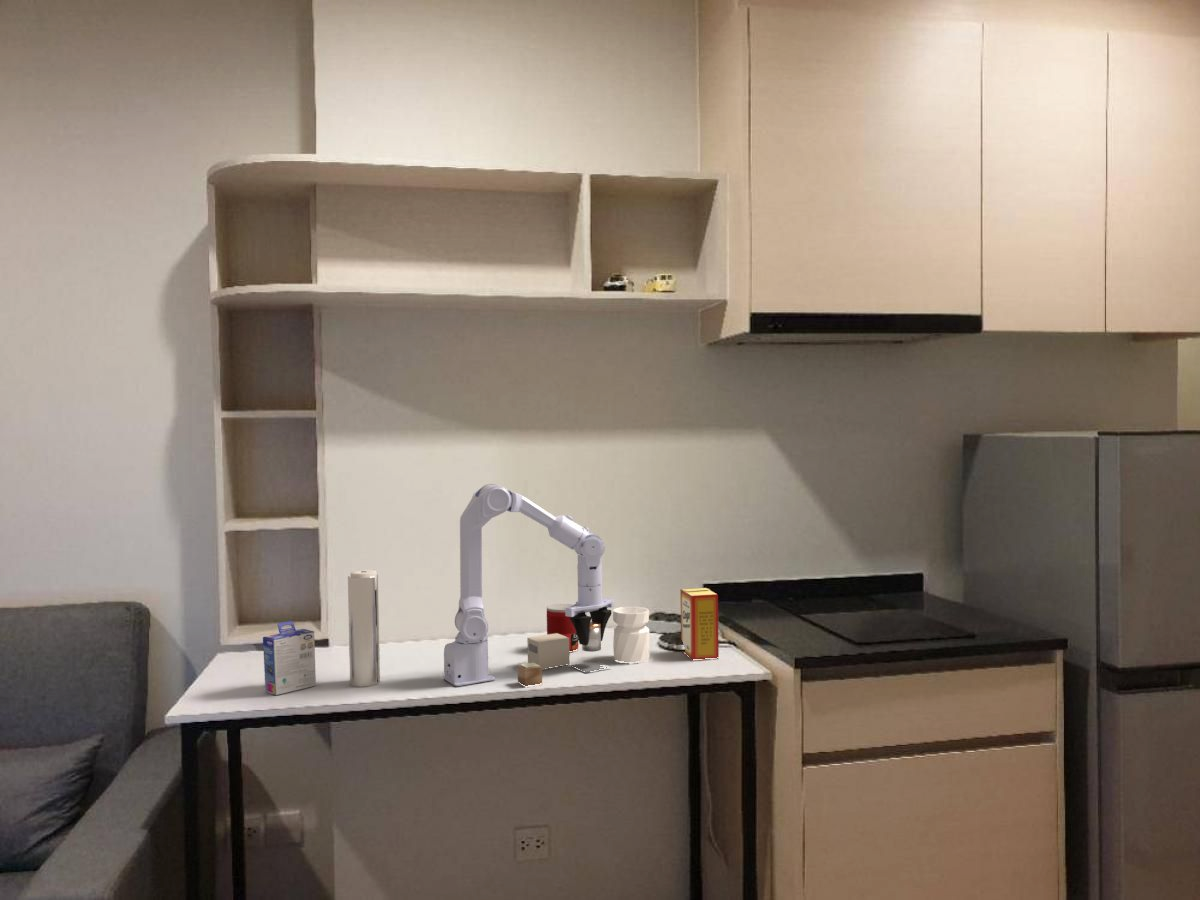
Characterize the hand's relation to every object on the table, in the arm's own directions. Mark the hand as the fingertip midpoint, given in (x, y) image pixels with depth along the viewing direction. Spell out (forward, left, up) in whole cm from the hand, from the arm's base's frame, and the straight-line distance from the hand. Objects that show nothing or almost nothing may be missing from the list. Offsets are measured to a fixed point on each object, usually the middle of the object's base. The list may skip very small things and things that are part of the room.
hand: (590, 642), depth 208 cm
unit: (-7, +8, -6) cm, 12 cm away
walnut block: (-18, -4, -6) cm, 19 cm away
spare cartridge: (0, 0, -2) cm, 2 cm away
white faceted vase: (+12, +1, -6) cm, 14 cm away
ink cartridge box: (-63, +23, -6) cm, 67 cm away
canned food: (+3, +19, -6) cm, 20 cm away
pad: (0, 0, -6) cm, 6 cm away
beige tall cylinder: (-48, +18, -6) cm, 52 cm away
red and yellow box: (+28, -5, -6) cm, 29 cm away
